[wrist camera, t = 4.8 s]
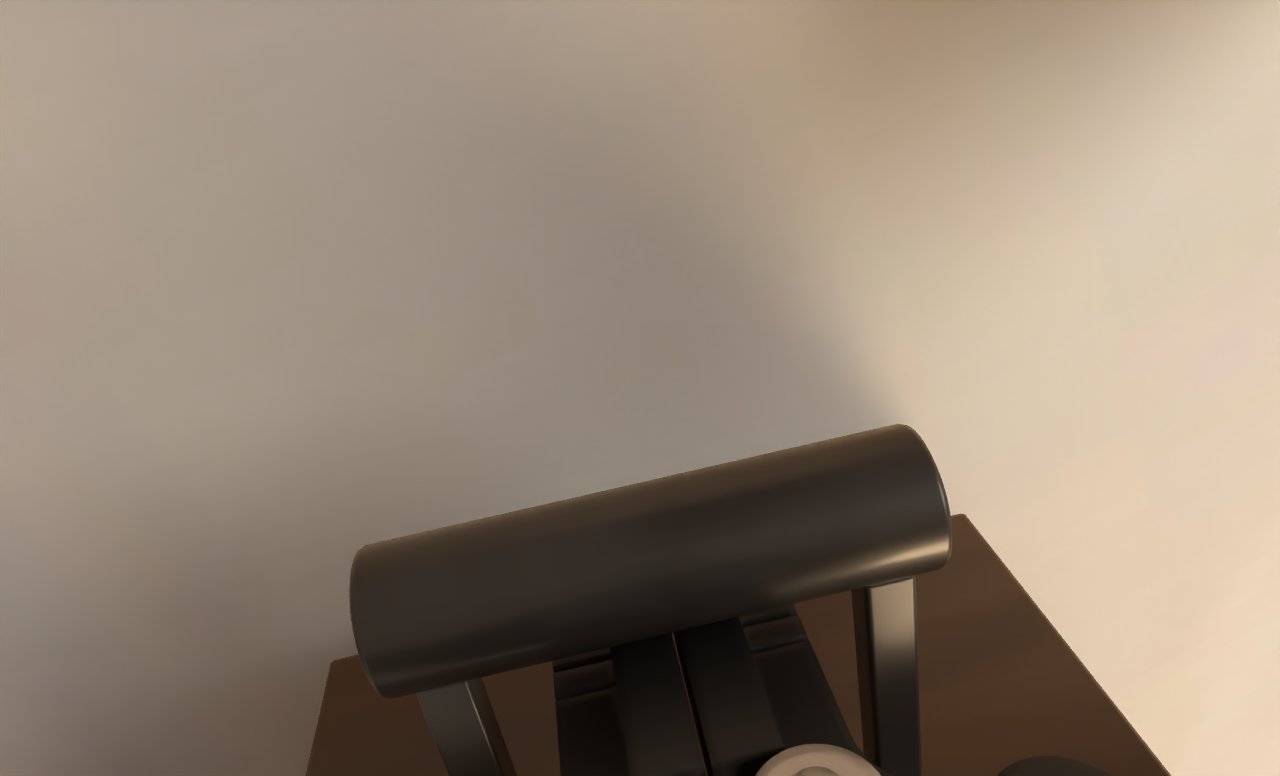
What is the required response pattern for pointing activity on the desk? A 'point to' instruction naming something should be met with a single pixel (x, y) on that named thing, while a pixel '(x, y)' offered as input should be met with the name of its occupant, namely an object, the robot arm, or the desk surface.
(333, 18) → the desk surface
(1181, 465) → the desk surface
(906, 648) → the drawer
